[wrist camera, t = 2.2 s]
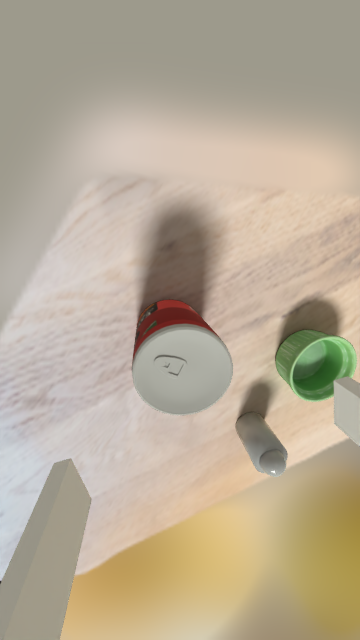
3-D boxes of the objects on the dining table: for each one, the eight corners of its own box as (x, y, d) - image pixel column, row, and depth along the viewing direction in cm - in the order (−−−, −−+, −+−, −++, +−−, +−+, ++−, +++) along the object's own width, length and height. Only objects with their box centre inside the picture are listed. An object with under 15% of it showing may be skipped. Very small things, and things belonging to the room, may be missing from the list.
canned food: (141, 293, 26) (138, 319, 15) (206, 303, 27) (245, 333, 17) (132, 354, 28) (125, 414, 17) (194, 360, 29) (222, 419, 19)
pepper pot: (237, 440, 34) (263, 491, 27) (233, 417, 33) (259, 464, 25) (264, 431, 34) (297, 480, 27) (261, 408, 33) (295, 453, 26)
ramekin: (341, 339, 32) (370, 352, 28) (306, 391, 34) (329, 410, 29) (293, 314, 30) (318, 324, 25) (259, 371, 31) (277, 389, 27)
